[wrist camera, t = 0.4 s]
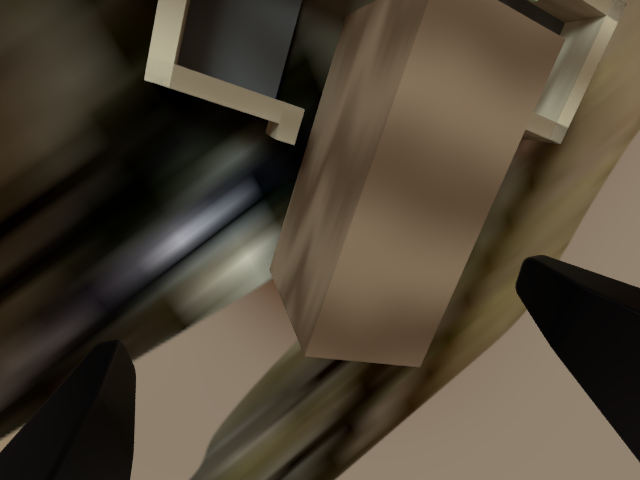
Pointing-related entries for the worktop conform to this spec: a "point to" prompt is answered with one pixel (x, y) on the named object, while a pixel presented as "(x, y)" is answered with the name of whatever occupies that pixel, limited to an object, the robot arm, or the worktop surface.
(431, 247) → the walnut block
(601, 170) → the worktop surface
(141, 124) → the worktop surface
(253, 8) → the rail channel
